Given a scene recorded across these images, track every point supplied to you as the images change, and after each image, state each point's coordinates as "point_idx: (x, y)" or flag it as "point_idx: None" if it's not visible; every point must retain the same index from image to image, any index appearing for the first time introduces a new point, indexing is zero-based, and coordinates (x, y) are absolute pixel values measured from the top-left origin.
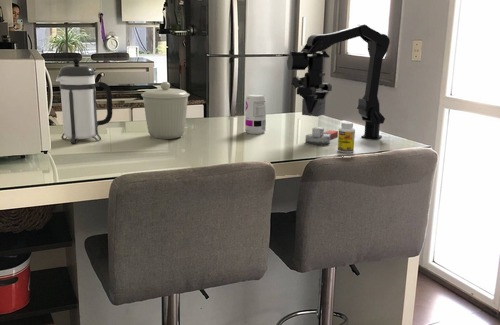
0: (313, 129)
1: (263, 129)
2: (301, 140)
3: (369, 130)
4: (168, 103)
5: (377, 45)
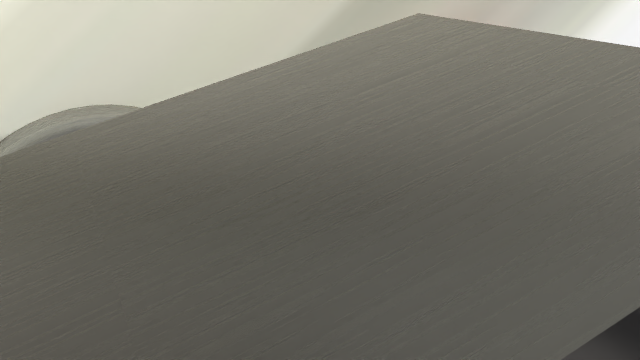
0: None
1: None
2: (24, 36)
3: None
4: None
5: None
